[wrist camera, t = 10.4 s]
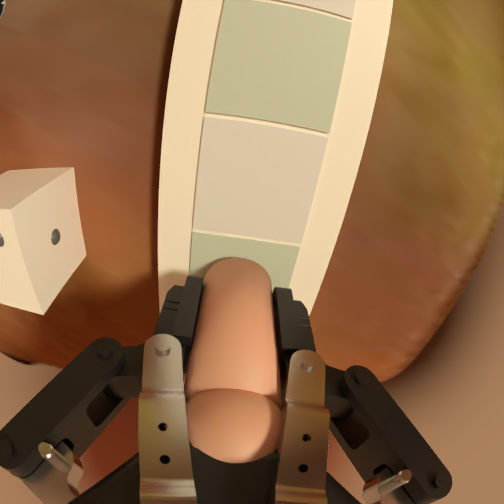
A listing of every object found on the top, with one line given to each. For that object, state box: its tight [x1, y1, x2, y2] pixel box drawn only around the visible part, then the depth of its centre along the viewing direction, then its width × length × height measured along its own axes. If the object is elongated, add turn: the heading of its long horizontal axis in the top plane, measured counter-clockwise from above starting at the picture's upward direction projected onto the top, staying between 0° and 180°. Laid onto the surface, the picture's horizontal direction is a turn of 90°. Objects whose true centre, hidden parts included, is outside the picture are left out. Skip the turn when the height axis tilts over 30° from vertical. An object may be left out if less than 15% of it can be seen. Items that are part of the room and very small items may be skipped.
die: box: [0, 167, 86, 315], centre depth 11 cm, size 5×5×5 cm
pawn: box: [184, 258, 282, 463], centre depth 10 cm, size 3×3×9 cm
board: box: [158, 0, 393, 315], centre depth 10 cm, size 8×26×1 cm, turn 171°
